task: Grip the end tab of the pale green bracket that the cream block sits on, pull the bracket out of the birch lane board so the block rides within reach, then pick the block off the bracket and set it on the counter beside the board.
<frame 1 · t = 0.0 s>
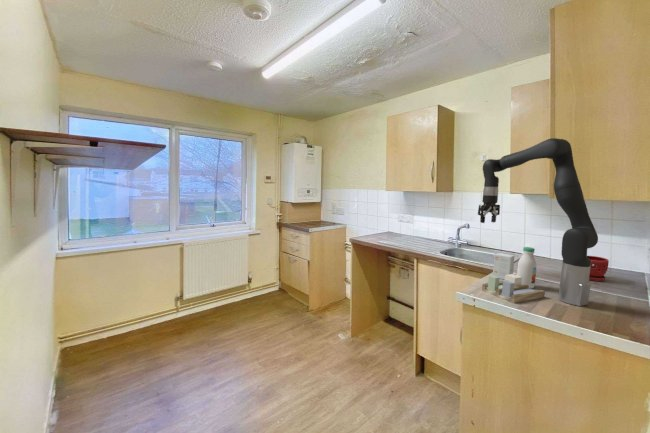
hand: (487, 222, 164), 29 cm above the countertop, tool pointing down, fingers open, 8 cm apart
milk bottle: (524, 286, 144), on the countertop
plant pot: (589, 278, 158), on the countertop
lane board: (512, 293, 134), on the countertop
small box: (502, 278, 157), on the countertop
slat grey: (520, 287, 130), point 5 cm above the countertop, slide at 0.0 cm
pale green bracket: (505, 281, 137), point 4 cm above the countertop, slide at 0.0 cm, touching block
block: (512, 285, 139), point 2 cm above the countertop, touching pale green bracket
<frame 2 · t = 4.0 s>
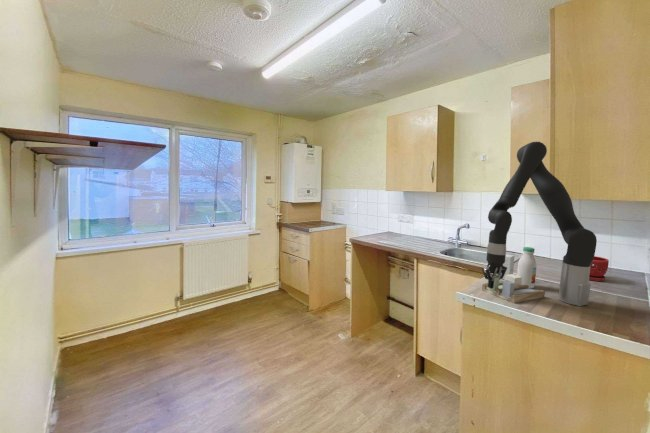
hand: (493, 287, 134), 3 cm above the countertop, tool pointing down, fingers closed on pale green bracket, 2 cm apart
pale green bracket: (505, 281, 137), point 4 cm above the countertop, slide at 0.0 cm, touching block, gripper
everything else where it was.
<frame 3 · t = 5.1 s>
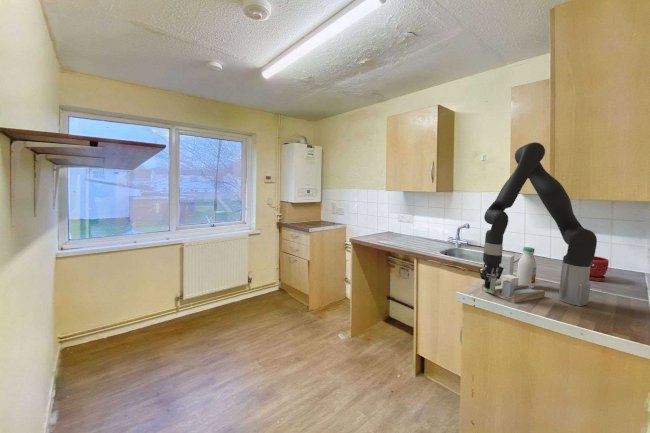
hand: (489, 288, 133), 3 cm above the countertop, tool pointing down, fingers closed on pale green bracket, 2 cm apart
pale green bracket: (502, 282, 136), point 4 cm above the countertop, slide at 2.3 cm, touching block, gripper
block: (509, 286, 138), point 2 cm above the countertop, touching pale green bracket
everything else where it was.
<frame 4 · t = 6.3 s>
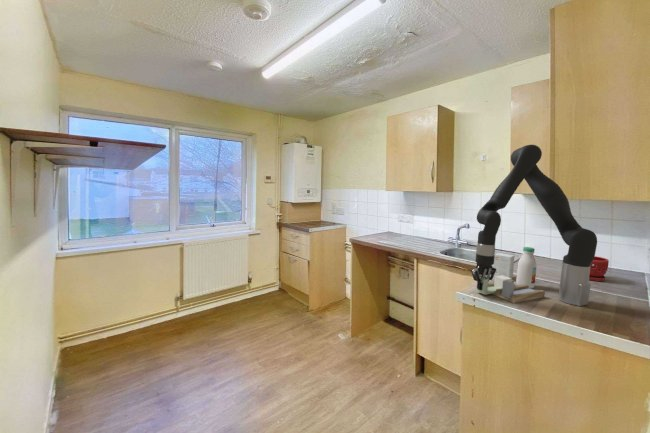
hand: (482, 289, 132), 3 cm above the countertop, tool pointing down, fingers closed on pale green bracket, 2 cm apart
pale green bracket: (495, 283, 134), point 4 cm above the countertop, slide at 7.0 cm, touching block, gripper
block: (502, 287, 136), point 2 cm above the countertop, touching pale green bracket
everything else where it was.
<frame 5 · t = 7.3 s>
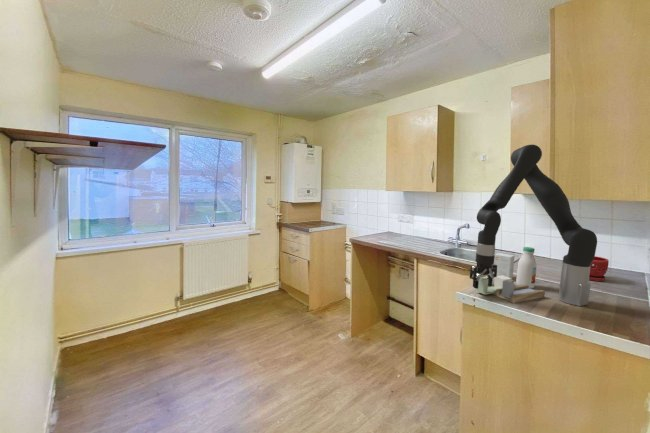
hand: (482, 287, 132), 4 cm above the countertop, tool pointing down, fingers open, 8 cm apart
pale green bracket: (495, 283, 134), point 4 cm above the countertop, slide at 7.0 cm, touching block
everything else where it was.
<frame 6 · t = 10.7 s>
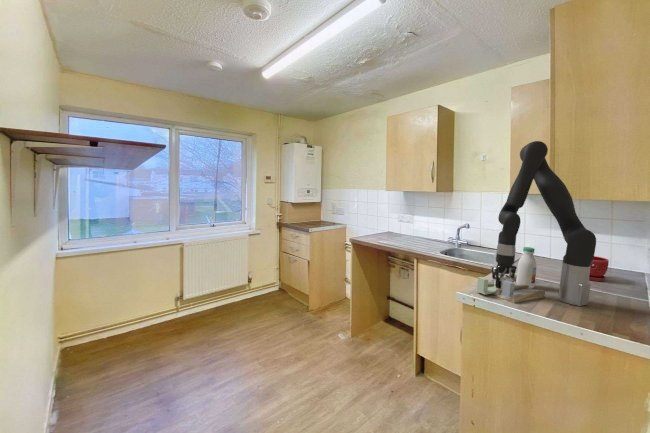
hand: (502, 287, 136), 2 cm above the countertop, tool pointing down, fingers closed on block, 5 cm apart
block: (502, 287, 136), point 2 cm above the countertop, touching gripper, pale green bracket
everything else where it was.
when the fingers open (2 cm above the countertop, at t = 16.4 s): block drops 2 cm, on the countertop.
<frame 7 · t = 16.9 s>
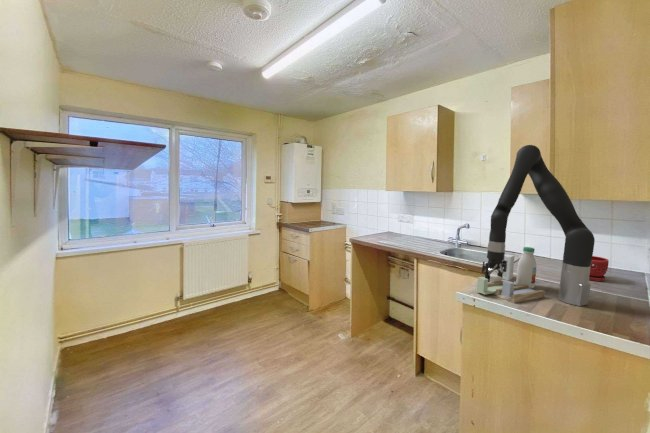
hand: (493, 280, 144), 2 cm above the countertop, tool pointing down, fingers open, 8 cm apart
pale green bracket: (495, 283, 134), point 4 cm above the countertop, slide at 7.0 cm
block: (492, 285, 145), on the countertop
everything else where it was.
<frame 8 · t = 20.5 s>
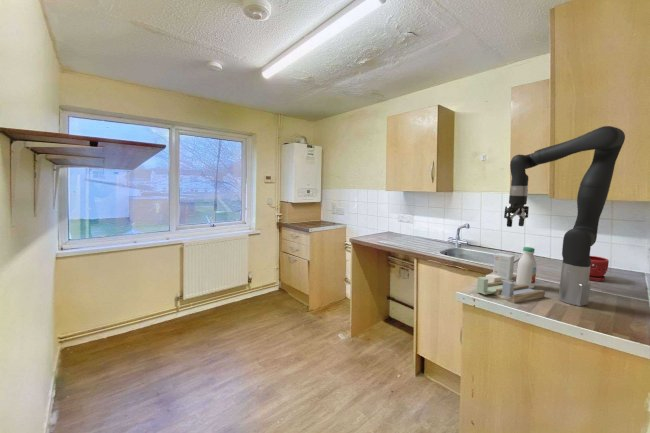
hand: (515, 226, 145), 30 cm above the countertop, tool pointing down, fingers open, 8 cm apart
nothing on the countertop moved.
at the end: pale green bracket slide at 7.0 cm; block inside the target area (0.0 cm from its centre), on the countertop; the gripper is holding nothing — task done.
